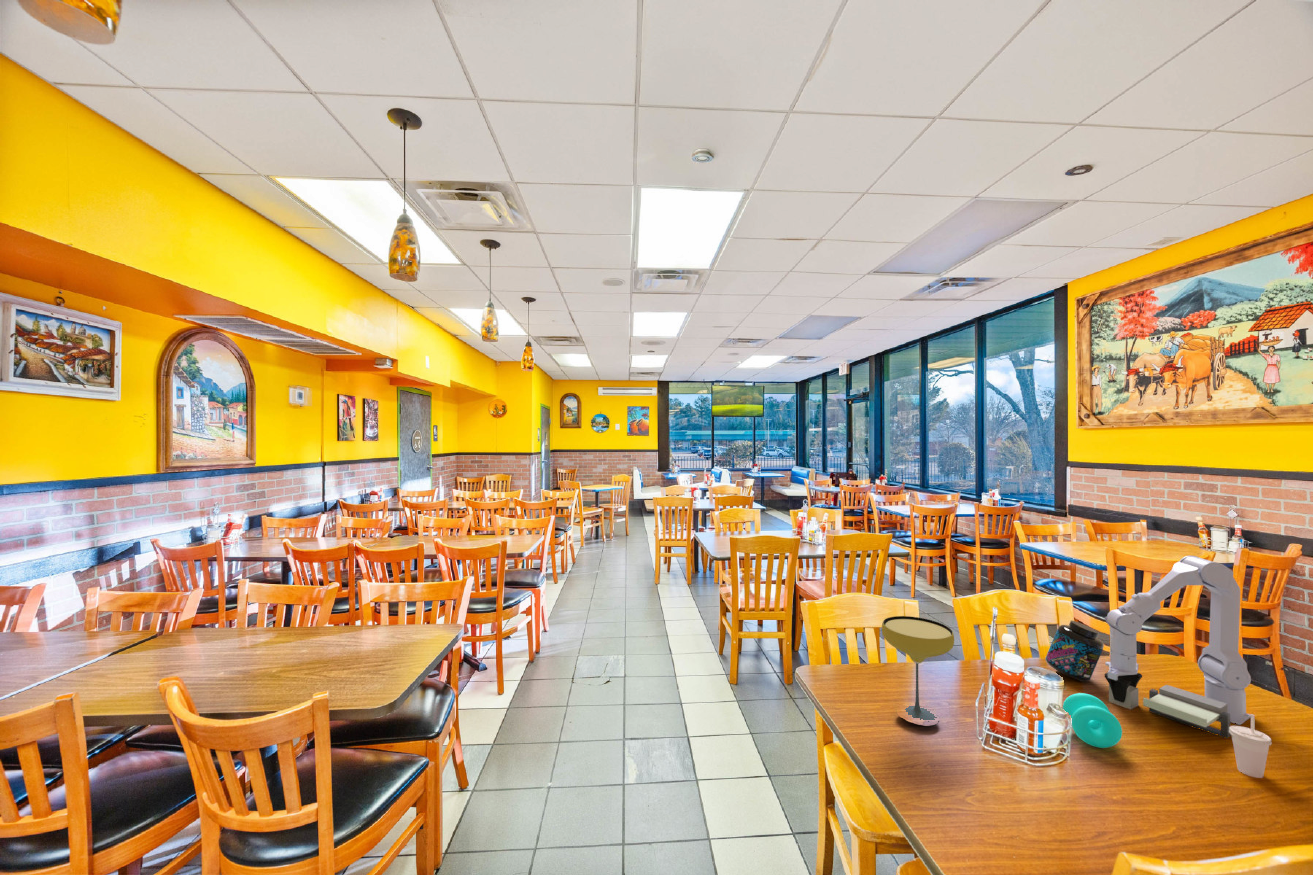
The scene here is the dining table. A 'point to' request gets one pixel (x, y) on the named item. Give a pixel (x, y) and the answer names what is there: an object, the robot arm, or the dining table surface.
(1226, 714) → the frame
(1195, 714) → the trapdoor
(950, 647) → the cocktail glass
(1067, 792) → the dining table surface
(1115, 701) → the grey cube
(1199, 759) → the dining table surface
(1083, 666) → the container
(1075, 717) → the teal yo-yo
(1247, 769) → the smoothie
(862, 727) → the dining table surface
